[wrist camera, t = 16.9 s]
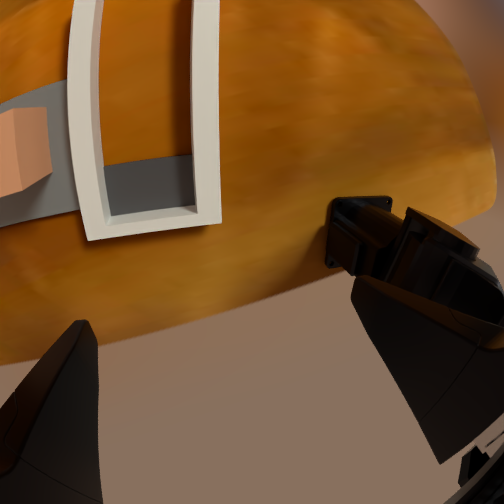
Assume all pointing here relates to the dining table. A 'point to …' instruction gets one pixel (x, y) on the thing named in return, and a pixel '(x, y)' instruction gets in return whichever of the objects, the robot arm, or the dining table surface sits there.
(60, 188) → the coaster
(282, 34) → the dining table surface
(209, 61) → the channel
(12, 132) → the block
